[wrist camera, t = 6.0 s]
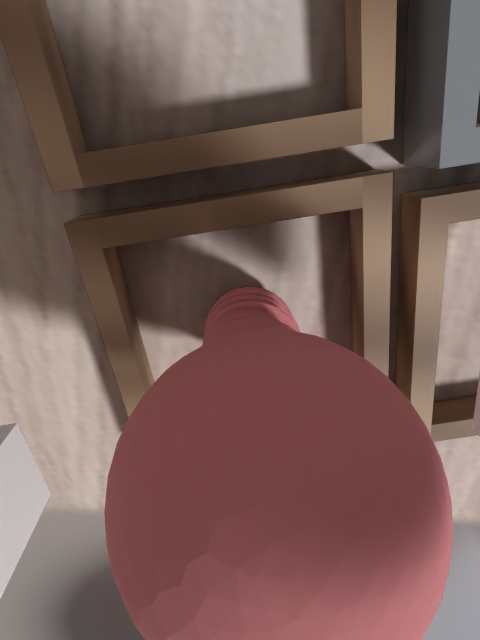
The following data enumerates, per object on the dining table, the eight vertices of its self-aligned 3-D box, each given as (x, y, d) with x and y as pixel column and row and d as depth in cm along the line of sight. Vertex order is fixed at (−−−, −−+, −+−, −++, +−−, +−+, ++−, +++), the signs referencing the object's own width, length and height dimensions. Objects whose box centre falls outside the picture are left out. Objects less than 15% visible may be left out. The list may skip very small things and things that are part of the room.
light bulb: (227, 420, 18) (242, 826, 7) (126, 309, 16) (-84, 684, 5) (358, 342, 17) (615, 701, 6) (271, 206, 14) (444, 403, 3)
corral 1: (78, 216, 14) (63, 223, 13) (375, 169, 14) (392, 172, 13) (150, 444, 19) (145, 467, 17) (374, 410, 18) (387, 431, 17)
